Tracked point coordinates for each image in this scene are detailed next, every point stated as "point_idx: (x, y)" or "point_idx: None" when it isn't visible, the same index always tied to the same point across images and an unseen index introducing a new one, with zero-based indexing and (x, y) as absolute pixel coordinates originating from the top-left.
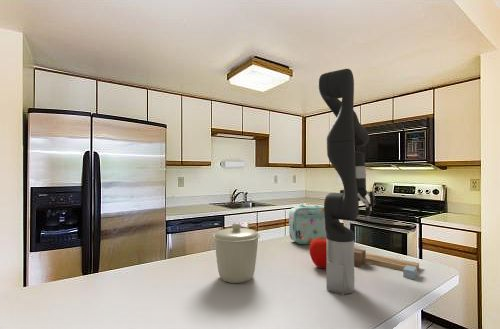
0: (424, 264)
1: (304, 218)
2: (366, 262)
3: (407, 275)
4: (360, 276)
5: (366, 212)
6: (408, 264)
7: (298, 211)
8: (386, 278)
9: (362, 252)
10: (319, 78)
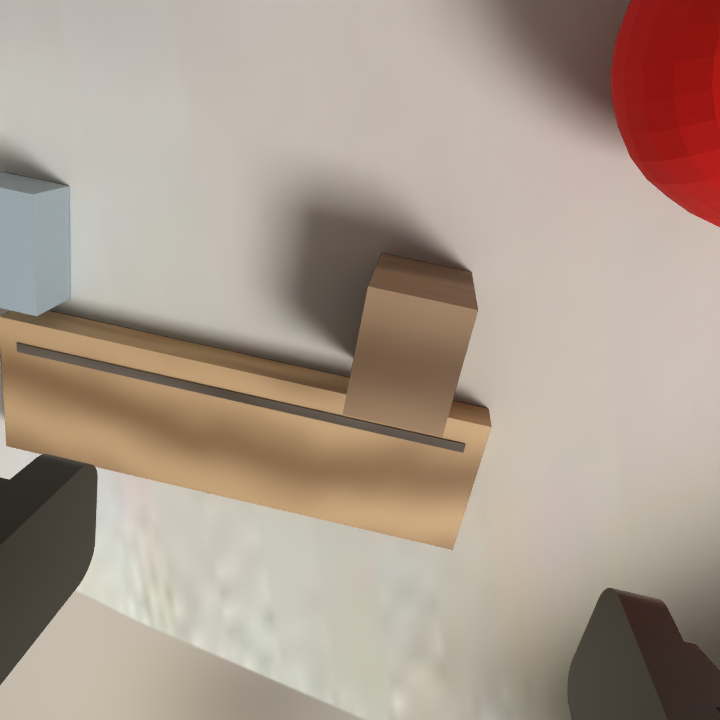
0: None
1: None
2: None
3: (31, 183)
4: (352, 6)
5: (10, 509)
6: (54, 386)
7: None
8: (162, 82)
9: (359, 330)
10: None
